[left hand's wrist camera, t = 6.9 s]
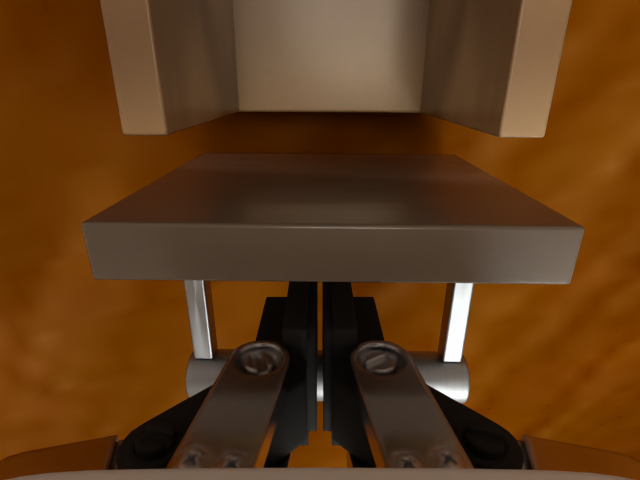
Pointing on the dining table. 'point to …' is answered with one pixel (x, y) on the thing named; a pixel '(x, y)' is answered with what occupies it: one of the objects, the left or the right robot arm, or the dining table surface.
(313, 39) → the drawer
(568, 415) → the dining table surface
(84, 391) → the dining table surface
